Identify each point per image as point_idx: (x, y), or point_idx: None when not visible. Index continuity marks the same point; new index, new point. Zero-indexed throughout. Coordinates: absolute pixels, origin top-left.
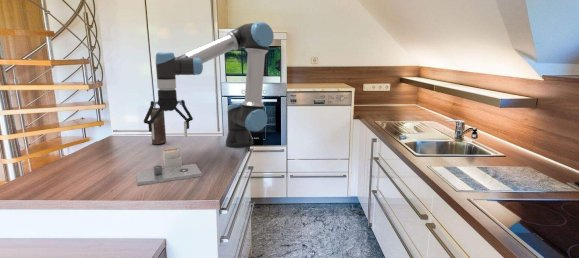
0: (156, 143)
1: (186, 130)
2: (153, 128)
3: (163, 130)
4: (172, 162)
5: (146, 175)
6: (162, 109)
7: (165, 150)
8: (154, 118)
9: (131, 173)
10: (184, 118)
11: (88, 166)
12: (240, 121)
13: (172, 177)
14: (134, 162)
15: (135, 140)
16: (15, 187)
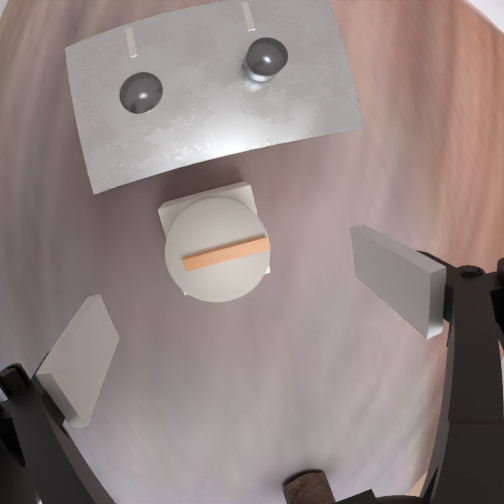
0: (313, 473)
1: (71, 323)
2: (405, 256)
3: None
4: (208, 192)
5: (310, 58)
6: (453, 482)
7: (255, 239)
8: (467, 318)
9: (377, 147)
10: (34, 411)
11: (487, 268)
12: None
13: (188, 8)
14: None
15: (367, 487)
16: None
